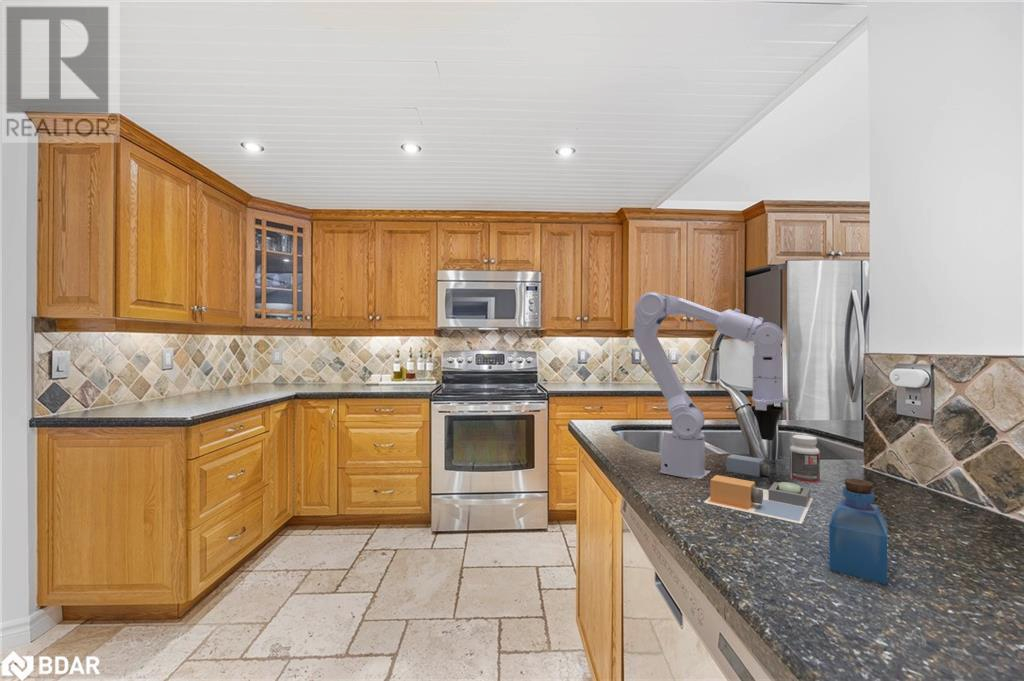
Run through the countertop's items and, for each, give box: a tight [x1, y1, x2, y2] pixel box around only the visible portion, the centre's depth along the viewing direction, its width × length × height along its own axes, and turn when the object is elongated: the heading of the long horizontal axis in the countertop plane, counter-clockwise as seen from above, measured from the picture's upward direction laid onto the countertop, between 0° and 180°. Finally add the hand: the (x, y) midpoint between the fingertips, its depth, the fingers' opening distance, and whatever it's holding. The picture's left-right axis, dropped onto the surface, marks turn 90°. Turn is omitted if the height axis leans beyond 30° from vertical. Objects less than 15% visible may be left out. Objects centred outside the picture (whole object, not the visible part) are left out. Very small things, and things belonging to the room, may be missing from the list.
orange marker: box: [709, 474, 763, 509], centre depth 87 cm, size 8×4×4 cm, turn 51°
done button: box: [778, 481, 801, 494], centre depth 89 cm, size 4×4×2 cm
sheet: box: [703, 487, 814, 525], centre depth 88 cm, size 16×16×1 cm
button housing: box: [767, 481, 811, 507], centre depth 89 cm, size 6×6×2 cm
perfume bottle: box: [828, 478, 888, 586], centre depth 63 cm, size 6×6×12 cm
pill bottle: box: [789, 434, 821, 484], centre depth 102 cm, size 6×6×10 cm
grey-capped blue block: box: [725, 453, 771, 478], centre depth 107 cm, size 8×4×4 cm, turn 49°
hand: (767, 439), depth 100 cm, fingers closed
